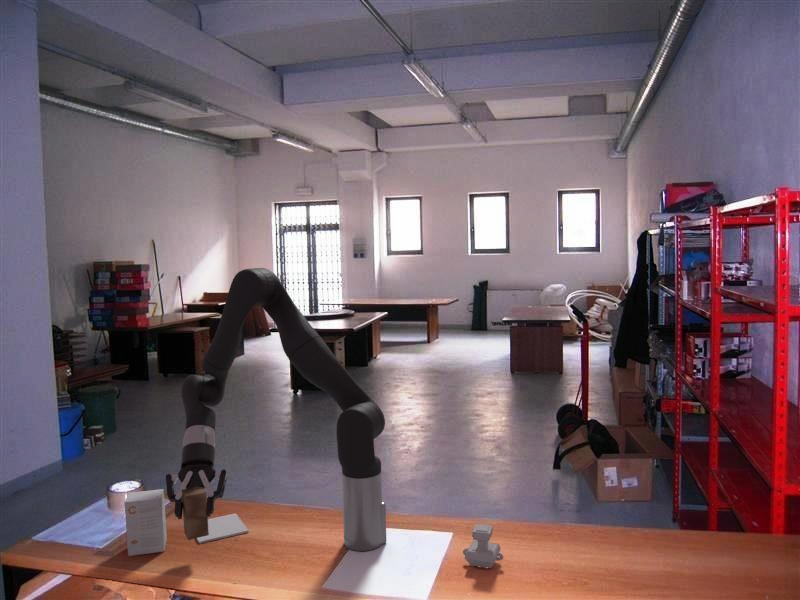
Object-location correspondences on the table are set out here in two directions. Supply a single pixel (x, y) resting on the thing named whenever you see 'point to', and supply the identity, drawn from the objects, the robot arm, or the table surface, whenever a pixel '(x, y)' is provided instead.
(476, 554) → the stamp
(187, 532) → the walnut block
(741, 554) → the table surface
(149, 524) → the small box
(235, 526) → the grey mat
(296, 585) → the table surface
